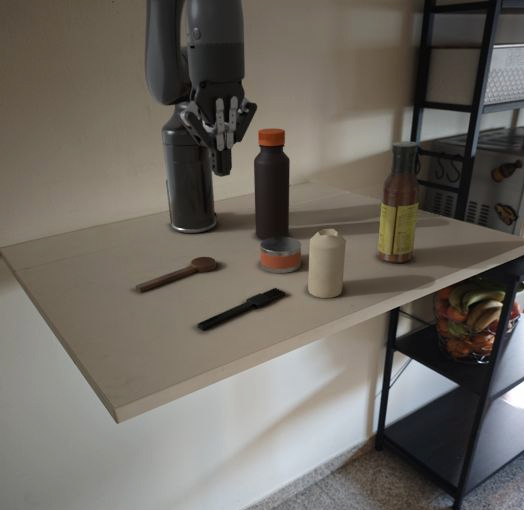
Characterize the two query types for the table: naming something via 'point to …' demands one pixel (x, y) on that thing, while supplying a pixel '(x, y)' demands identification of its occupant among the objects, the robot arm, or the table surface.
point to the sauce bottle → (399, 205)
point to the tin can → (280, 254)
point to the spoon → (180, 273)
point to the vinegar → (271, 185)
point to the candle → (326, 263)
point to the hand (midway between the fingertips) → (221, 174)
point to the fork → (243, 307)
